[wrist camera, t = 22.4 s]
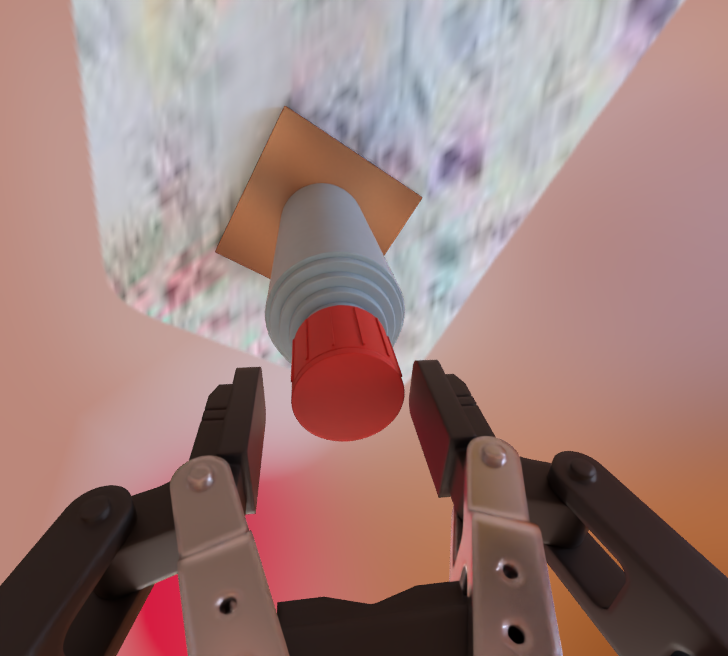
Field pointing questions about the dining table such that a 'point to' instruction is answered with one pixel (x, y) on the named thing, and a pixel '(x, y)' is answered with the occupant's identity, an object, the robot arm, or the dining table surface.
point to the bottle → (327, 266)
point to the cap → (344, 375)
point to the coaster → (302, 168)
